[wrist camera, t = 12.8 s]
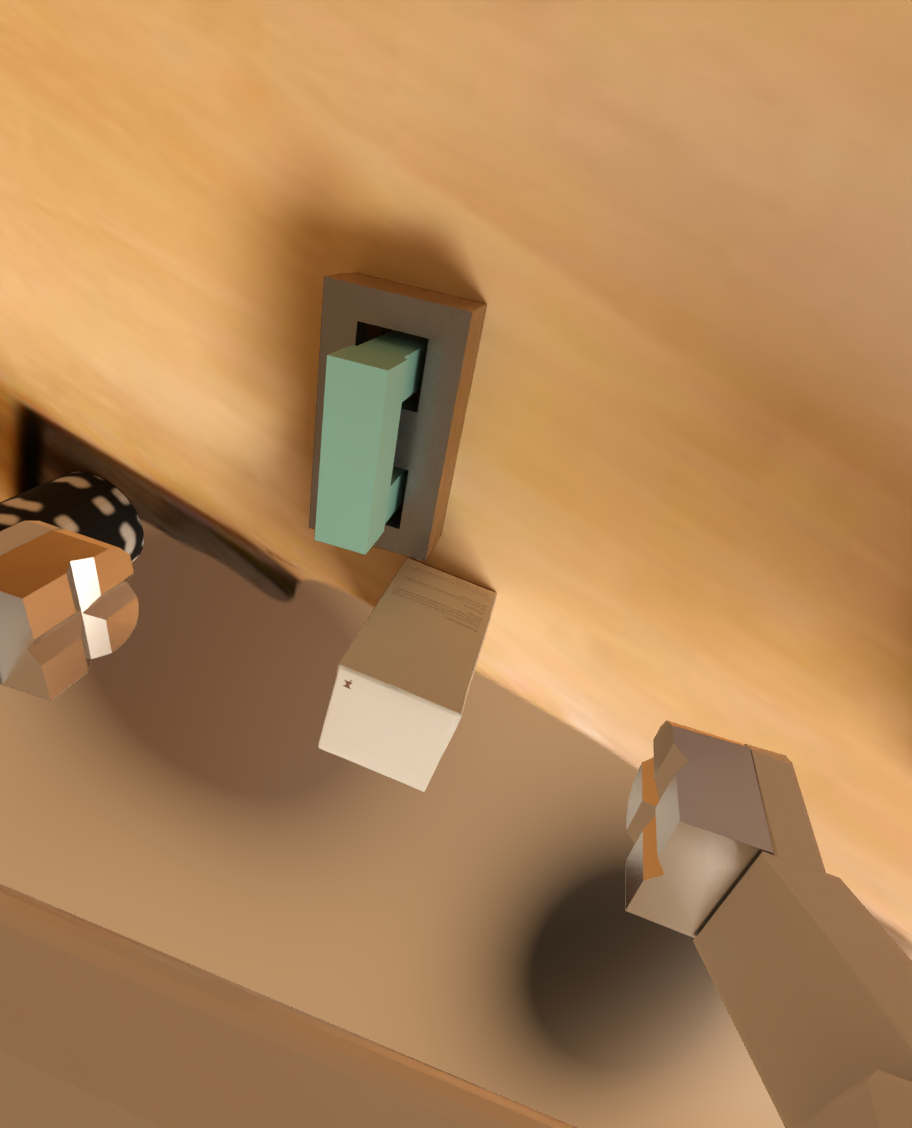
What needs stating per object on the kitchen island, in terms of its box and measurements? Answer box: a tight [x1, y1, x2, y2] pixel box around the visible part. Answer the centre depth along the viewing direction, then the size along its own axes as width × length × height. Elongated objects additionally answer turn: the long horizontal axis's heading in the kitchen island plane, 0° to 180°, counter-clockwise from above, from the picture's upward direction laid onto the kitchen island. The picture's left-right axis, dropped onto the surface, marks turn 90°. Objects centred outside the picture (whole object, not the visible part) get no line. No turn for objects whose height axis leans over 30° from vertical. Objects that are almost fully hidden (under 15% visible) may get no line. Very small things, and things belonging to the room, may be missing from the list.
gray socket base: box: [309, 272, 487, 561], centre depth 35 cm, size 8×15×4 cm, turn 169°
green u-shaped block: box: [315, 330, 429, 555], centre depth 33 cm, size 3×10×9 cm, turn 169°
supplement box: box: [318, 558, 497, 791], centre depth 38 cm, size 7×7×13 cm
